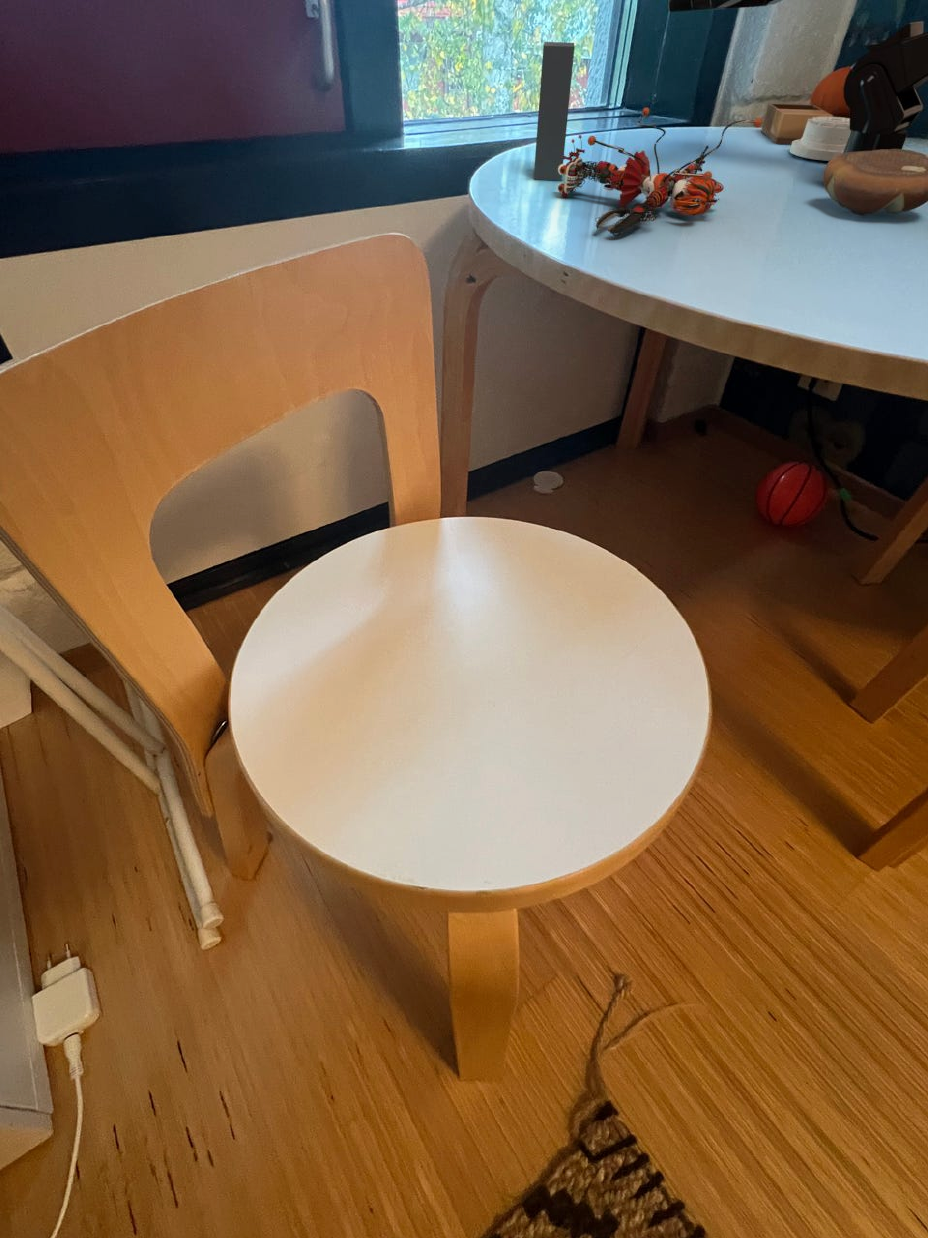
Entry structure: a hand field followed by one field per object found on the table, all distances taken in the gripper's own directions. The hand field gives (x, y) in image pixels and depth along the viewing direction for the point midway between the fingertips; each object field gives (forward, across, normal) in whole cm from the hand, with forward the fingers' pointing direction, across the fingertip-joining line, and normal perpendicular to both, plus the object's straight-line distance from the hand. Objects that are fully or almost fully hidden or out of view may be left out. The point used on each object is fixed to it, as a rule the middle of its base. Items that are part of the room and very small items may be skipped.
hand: (686, 5), depth 87 cm
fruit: (-1, -47, +18) cm, 51 cm away
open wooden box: (-1, -28, +18) cm, 34 cm away
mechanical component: (-9, -17, +22) cm, 30 cm away
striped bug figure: (+4, +30, +11) cm, 32 cm away
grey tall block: (+11, +21, +12) cm, 27 cm away
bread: (-25, +11, +23) cm, 36 cm away
